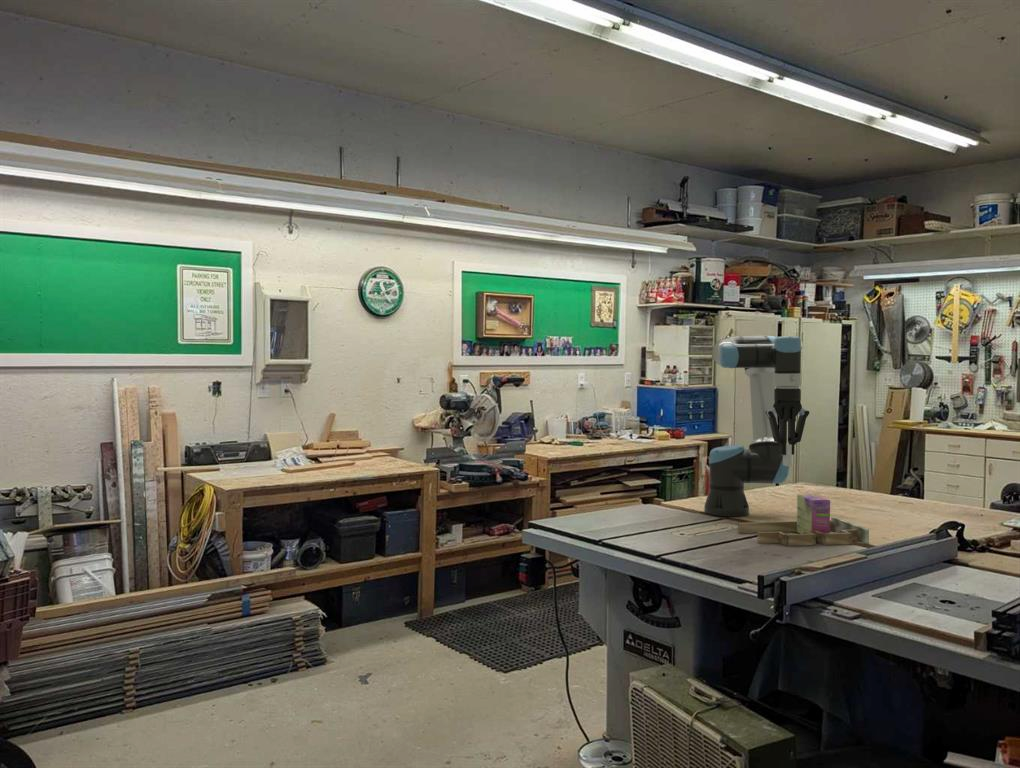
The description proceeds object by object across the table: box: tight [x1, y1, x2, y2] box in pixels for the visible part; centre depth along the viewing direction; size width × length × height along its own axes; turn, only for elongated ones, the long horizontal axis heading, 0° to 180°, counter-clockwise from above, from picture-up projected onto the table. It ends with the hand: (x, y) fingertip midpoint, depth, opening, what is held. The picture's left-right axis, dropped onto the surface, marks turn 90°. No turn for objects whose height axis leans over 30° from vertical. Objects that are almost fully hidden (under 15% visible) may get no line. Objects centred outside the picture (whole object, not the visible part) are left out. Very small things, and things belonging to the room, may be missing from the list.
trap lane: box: [737, 516, 870, 547], centre depth 228 cm, size 19×31×4 cm, turn 96°
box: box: [796, 493, 831, 534], centre depth 230 cm, size 10×6×12 cm, turn 2°
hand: (787, 465), depth 232 cm, fingers closed
